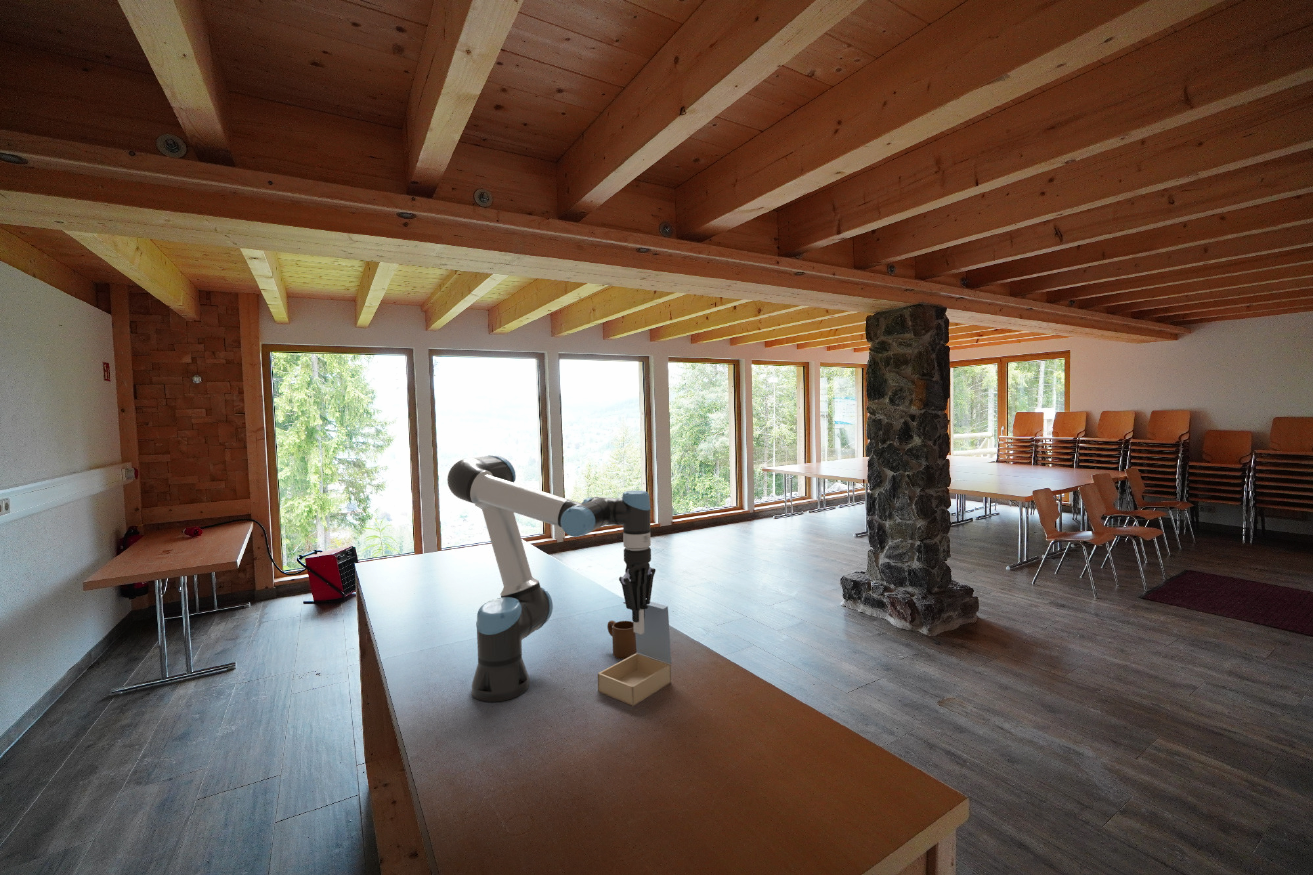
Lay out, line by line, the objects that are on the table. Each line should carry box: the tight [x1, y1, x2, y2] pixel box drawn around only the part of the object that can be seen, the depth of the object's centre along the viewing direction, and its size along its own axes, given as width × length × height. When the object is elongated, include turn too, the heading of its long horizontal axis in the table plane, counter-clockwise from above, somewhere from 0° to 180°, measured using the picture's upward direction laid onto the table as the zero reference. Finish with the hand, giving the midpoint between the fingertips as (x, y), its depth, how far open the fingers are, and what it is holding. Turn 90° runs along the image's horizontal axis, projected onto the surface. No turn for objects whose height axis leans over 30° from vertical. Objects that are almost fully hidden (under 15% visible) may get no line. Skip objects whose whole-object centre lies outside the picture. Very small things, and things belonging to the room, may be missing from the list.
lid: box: [635, 601, 673, 665], centre depth 156 cm, size 17×13×2 cm
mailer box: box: [597, 653, 672, 707], centre depth 151 cm, size 16×13×5 cm
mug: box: [606, 620, 638, 660], centre depth 173 cm, size 12×8×9 cm, turn 43°
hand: (638, 632), depth 152 cm, fingers closed
